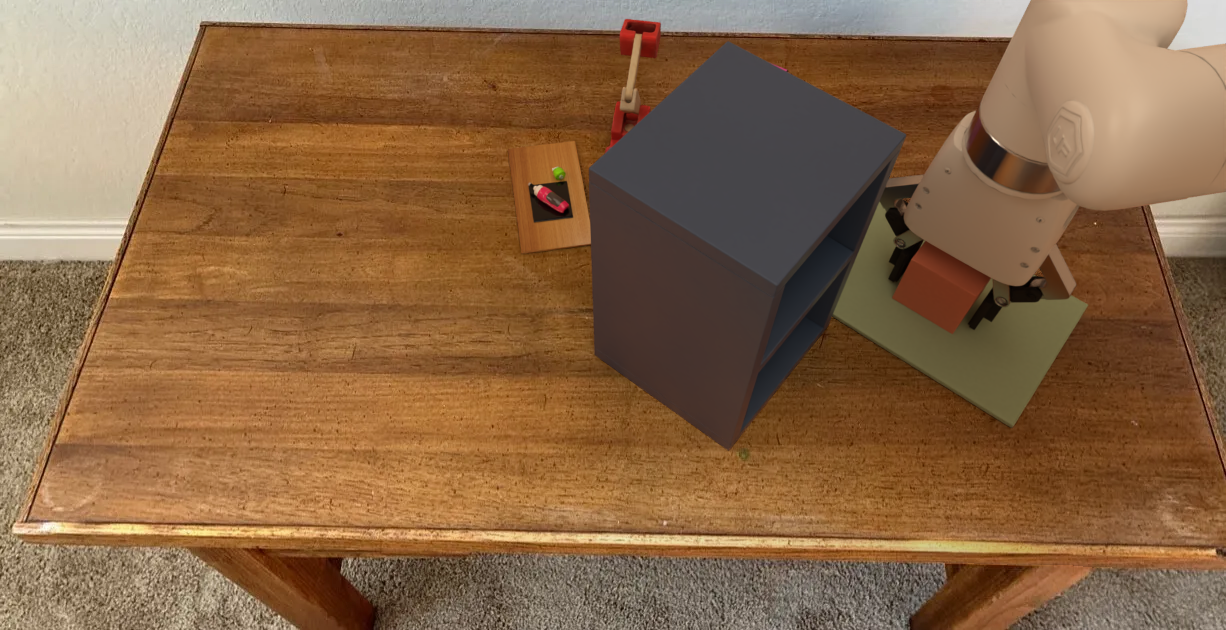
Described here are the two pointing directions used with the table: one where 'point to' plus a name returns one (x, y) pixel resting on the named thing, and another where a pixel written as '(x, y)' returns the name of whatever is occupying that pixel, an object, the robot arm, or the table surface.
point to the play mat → (957, 333)
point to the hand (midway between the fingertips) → (939, 292)
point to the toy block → (940, 287)
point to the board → (549, 197)
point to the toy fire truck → (634, 74)
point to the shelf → (730, 235)
